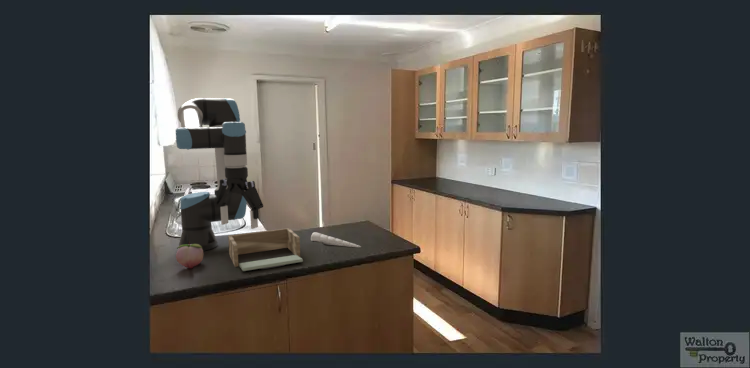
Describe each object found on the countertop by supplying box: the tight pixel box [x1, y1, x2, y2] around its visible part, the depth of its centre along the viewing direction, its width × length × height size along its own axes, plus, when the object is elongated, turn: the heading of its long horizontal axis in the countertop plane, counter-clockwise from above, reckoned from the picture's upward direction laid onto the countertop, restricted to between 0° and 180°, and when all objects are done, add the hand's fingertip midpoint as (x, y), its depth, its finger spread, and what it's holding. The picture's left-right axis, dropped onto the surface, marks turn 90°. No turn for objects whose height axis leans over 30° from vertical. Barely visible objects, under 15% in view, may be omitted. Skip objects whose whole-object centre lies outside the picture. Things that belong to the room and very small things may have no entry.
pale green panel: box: [238, 254, 304, 272], centre depth 149 cm, size 2×21×8 cm
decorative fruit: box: [175, 242, 204, 269], centre depth 150 cm, size 9×8×10 cm
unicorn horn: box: [310, 231, 362, 248], centre depth 178 cm, size 5×24×5 cm, turn 63°
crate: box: [227, 227, 301, 268], centre depth 160 cm, size 16×24×9 cm, turn 116°
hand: (239, 225), depth 147 cm, fingers open, 13 cm apart
